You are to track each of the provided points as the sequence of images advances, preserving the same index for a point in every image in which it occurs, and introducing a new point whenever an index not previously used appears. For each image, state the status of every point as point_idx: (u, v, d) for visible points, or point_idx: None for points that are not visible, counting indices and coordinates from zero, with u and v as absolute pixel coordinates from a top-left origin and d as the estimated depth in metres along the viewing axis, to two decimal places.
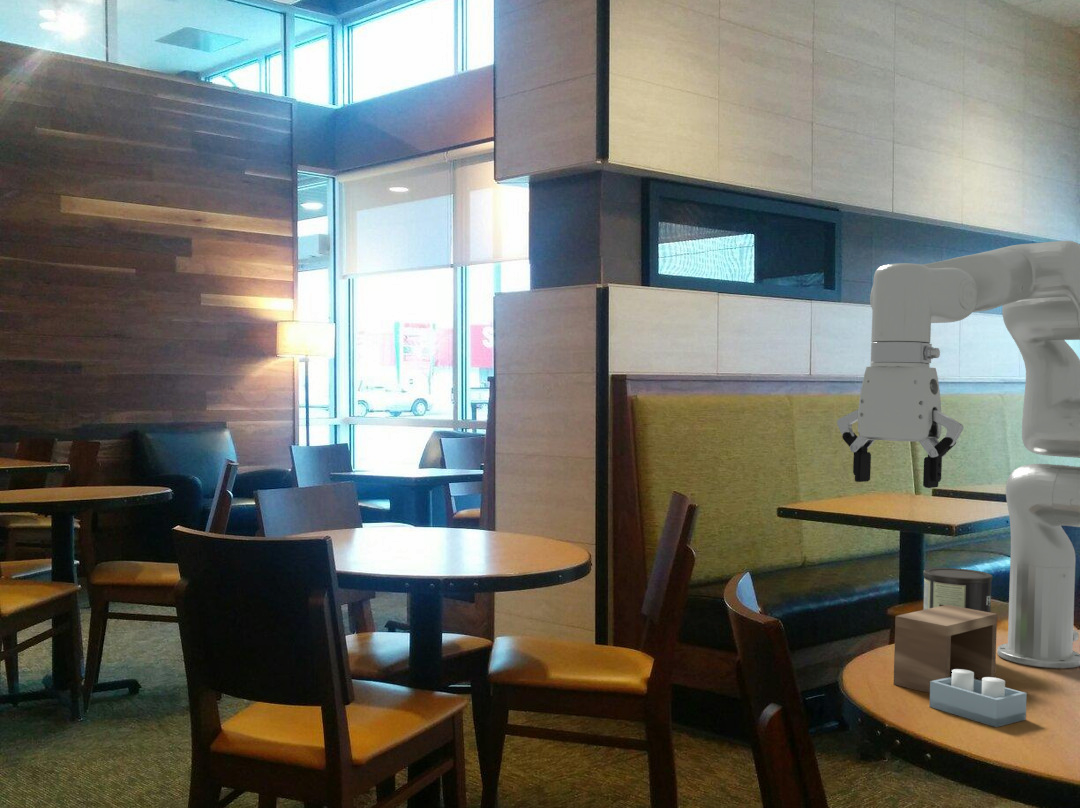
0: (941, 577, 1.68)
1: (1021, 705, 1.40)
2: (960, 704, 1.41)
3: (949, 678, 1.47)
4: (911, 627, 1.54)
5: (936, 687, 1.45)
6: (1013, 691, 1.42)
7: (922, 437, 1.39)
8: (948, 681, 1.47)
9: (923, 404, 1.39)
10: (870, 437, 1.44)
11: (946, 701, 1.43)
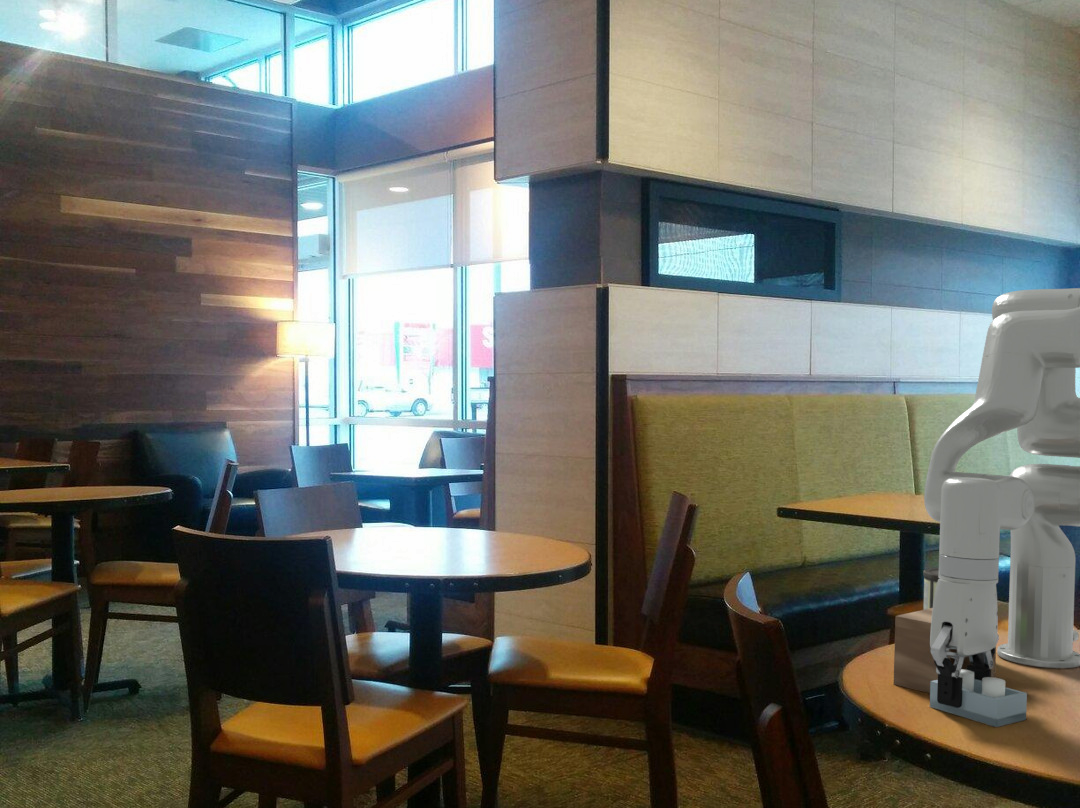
0: None
1: (1021, 705, 1.40)
2: None
3: None
4: (911, 627, 1.54)
5: (936, 687, 1.45)
6: (1013, 691, 1.42)
7: (994, 646, 1.46)
8: None
9: (997, 614, 1.46)
10: (967, 655, 1.41)
11: None
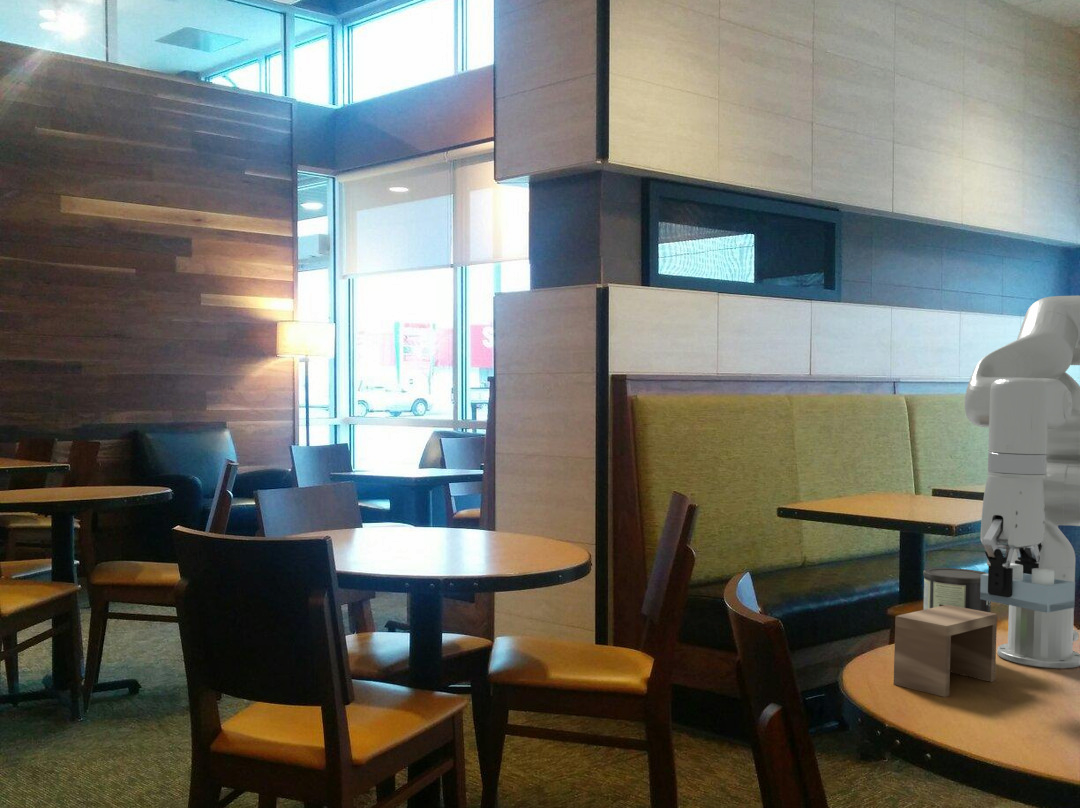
0: (941, 577, 1.68)
1: (1070, 593, 1.46)
2: None
3: None
4: (911, 627, 1.54)
5: (987, 579, 1.50)
6: (1062, 581, 1.47)
7: (1042, 540, 1.52)
8: None
9: (1044, 510, 1.51)
10: (1017, 547, 1.47)
11: None
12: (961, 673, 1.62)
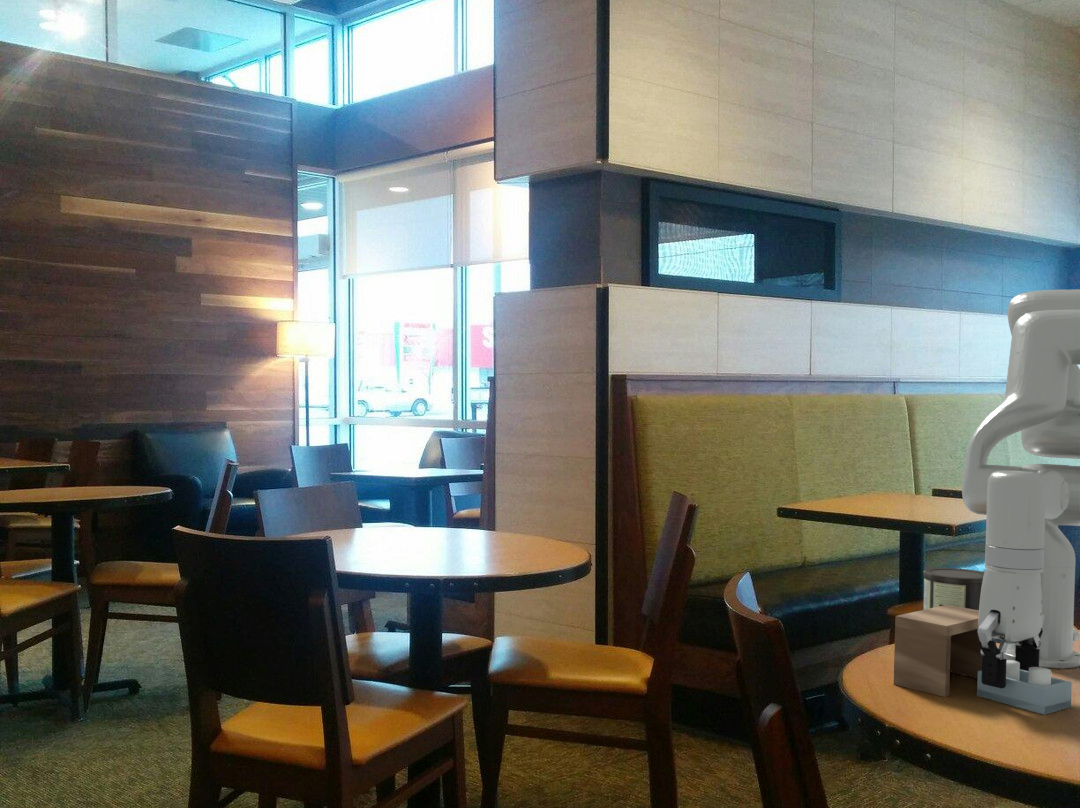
0: (941, 577, 1.68)
1: (1067, 693, 1.46)
2: (1008, 693, 1.47)
3: None
4: (911, 627, 1.54)
5: None
6: (1058, 680, 1.48)
7: (1039, 632, 1.52)
8: None
9: (1041, 602, 1.52)
10: (1014, 642, 1.47)
11: (994, 690, 1.49)
12: (961, 673, 1.62)
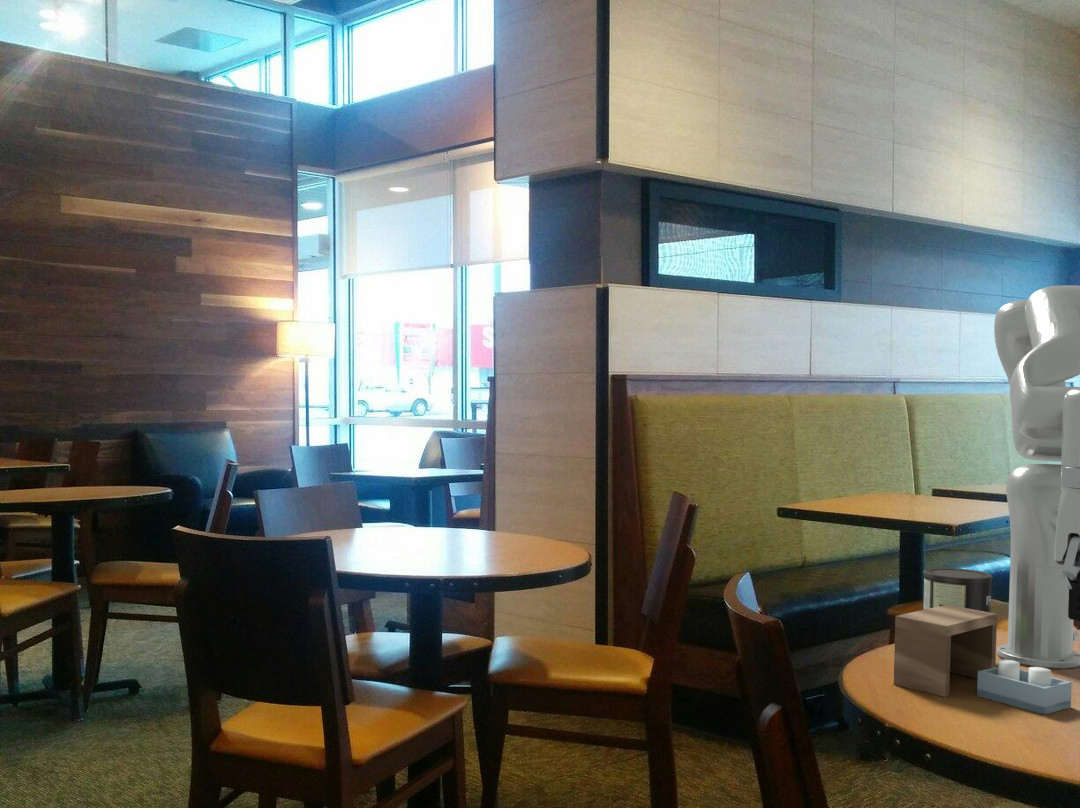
0: (941, 577, 1.68)
1: (1067, 693, 1.46)
2: (1008, 693, 1.47)
3: (995, 668, 1.53)
4: (911, 627, 1.54)
5: (984, 677, 1.50)
6: (1058, 680, 1.48)
7: None
8: (994, 671, 1.53)
9: None
10: None
11: (994, 690, 1.49)
12: (961, 673, 1.62)
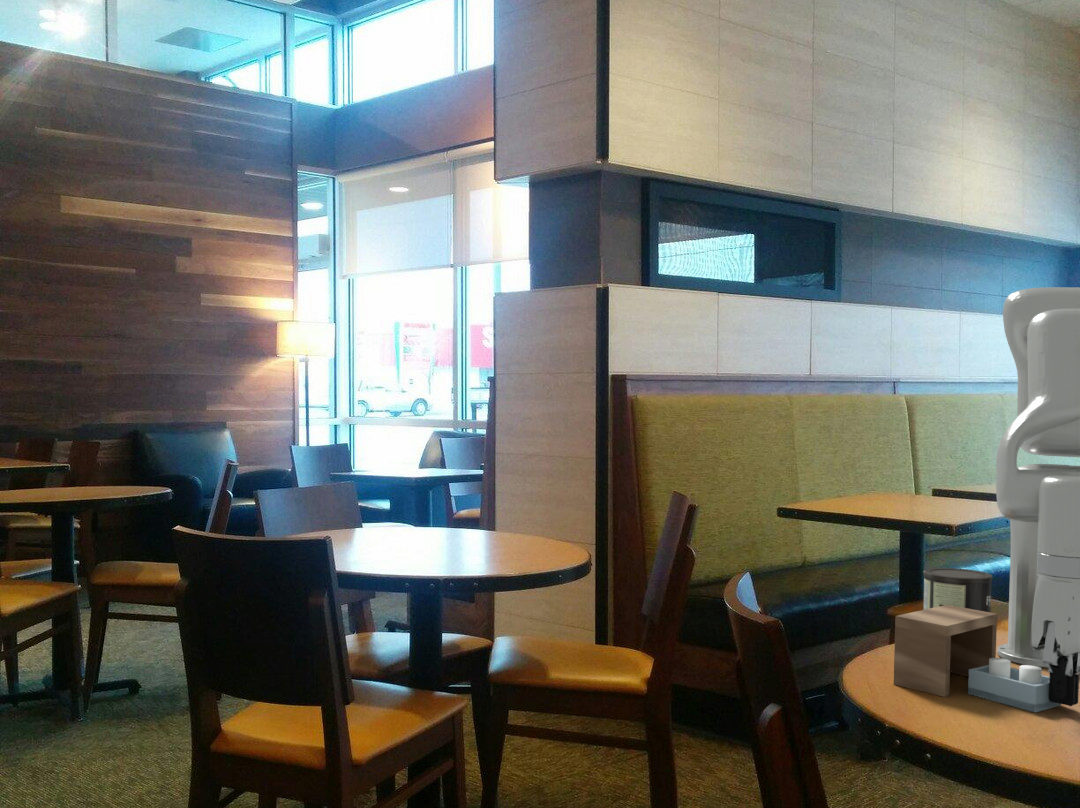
0: (941, 577, 1.68)
1: None
2: (999, 691, 1.48)
3: (986, 666, 1.54)
4: (911, 627, 1.54)
5: (975, 675, 1.51)
6: (1049, 678, 1.48)
7: None
8: (985, 669, 1.53)
9: None
10: (1070, 654, 1.41)
11: (985, 688, 1.50)
12: (961, 673, 1.62)
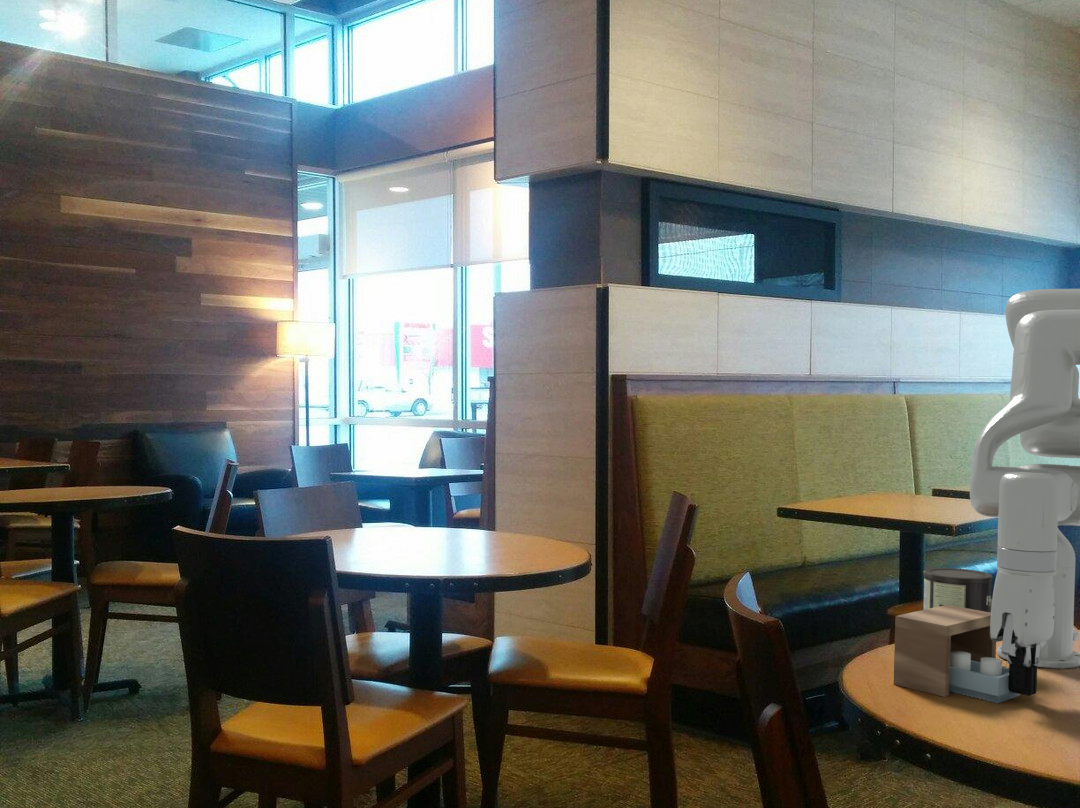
0: (941, 577, 1.68)
1: None
2: (961, 683, 1.52)
3: None
4: (911, 627, 1.54)
5: None
6: (1008, 669, 1.53)
7: (1051, 635, 1.50)
8: None
9: (1053, 605, 1.50)
10: (1027, 645, 1.46)
11: None
12: None
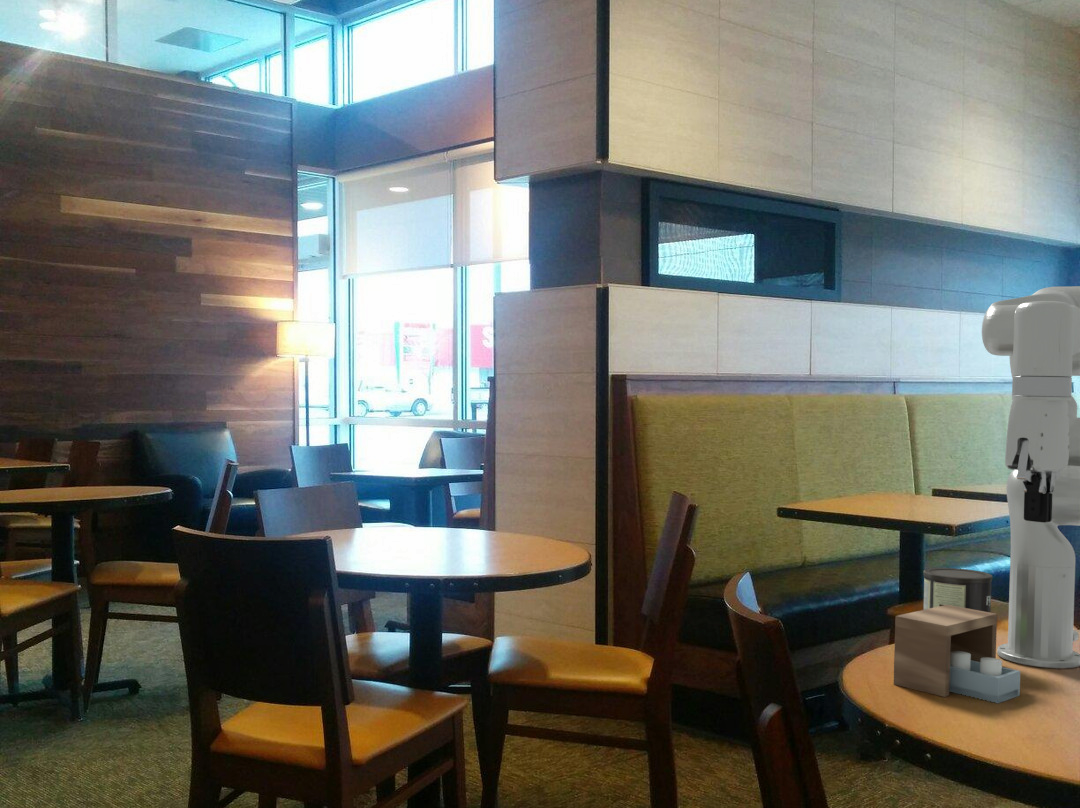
0: (941, 577, 1.68)
1: (1016, 682, 1.51)
2: (961, 683, 1.52)
3: None
4: (911, 627, 1.54)
5: None
6: (1007, 669, 1.53)
7: (1066, 465, 1.51)
8: None
9: (1068, 435, 1.51)
10: (1042, 470, 1.46)
11: None
12: None
